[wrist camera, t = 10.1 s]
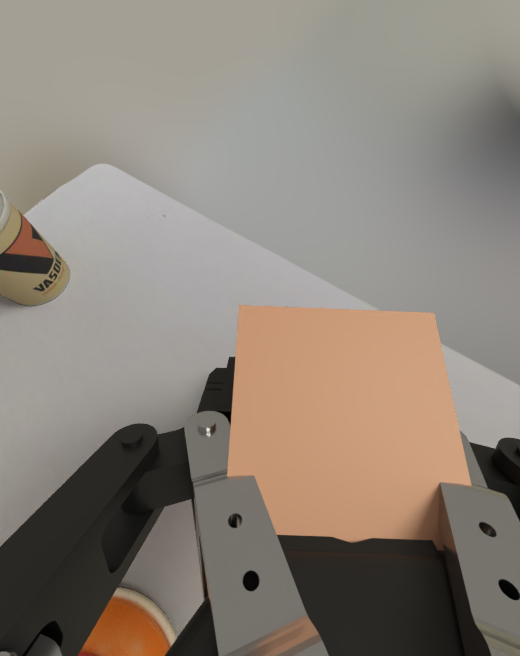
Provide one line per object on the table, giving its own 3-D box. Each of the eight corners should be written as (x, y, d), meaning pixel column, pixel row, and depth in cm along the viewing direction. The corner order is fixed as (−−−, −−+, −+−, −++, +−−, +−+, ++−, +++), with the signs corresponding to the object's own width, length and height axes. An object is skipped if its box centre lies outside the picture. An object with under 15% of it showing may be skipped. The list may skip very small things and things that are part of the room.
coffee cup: (63, 314, 35) (-29, 255, 24) (-10, 309, 35) (-134, 248, 24) (86, 253, 38) (15, 176, 27) (20, 249, 39) (-77, 171, 28)
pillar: (243, 476, 15) (221, 542, 5) (247, 381, 16) (239, 305, 7) (338, 480, 15) (485, 552, 5) (332, 384, 16) (434, 312, 7)
